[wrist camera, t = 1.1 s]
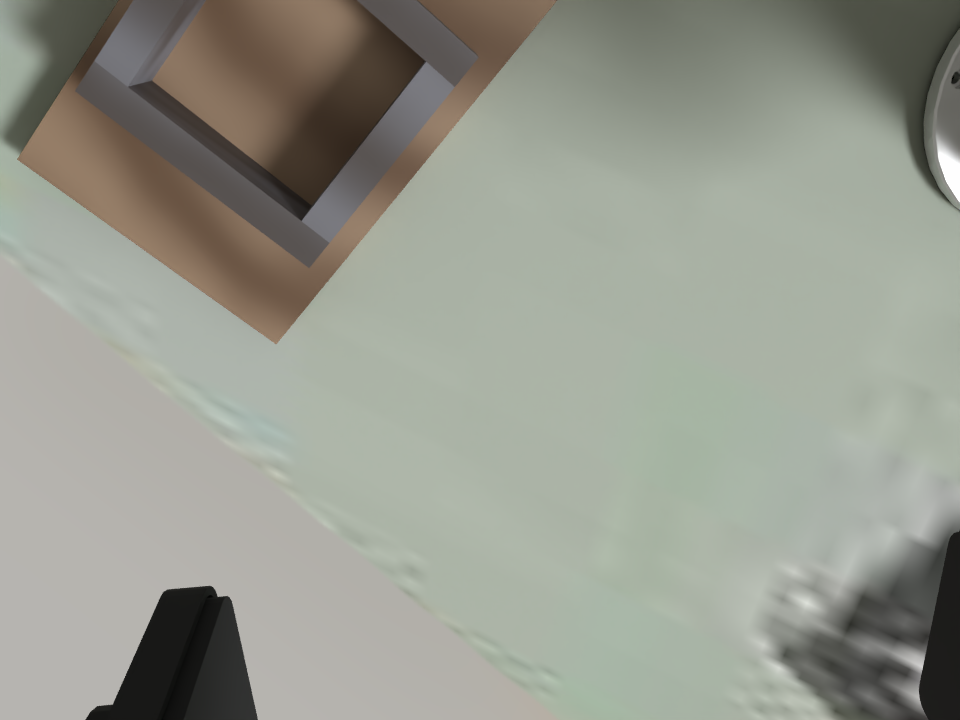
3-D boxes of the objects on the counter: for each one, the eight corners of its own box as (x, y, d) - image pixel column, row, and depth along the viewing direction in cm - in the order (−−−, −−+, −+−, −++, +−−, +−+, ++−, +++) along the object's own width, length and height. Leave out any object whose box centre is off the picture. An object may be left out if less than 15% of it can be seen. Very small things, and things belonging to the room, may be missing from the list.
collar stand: (314, -284, 32) (294, -327, 28) (574, -26, 36) (591, -30, 32) (32, 153, 38) (-18, 171, 34) (281, 333, 42) (264, 368, 38)
